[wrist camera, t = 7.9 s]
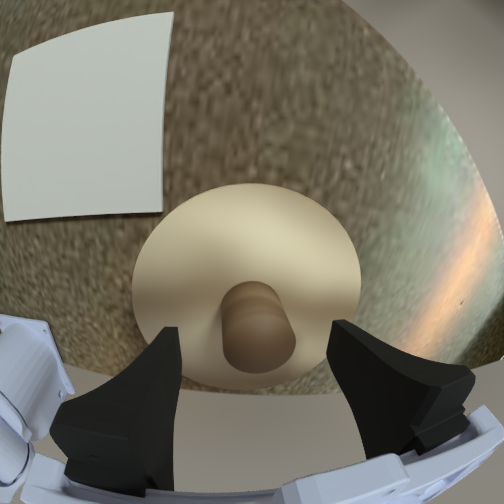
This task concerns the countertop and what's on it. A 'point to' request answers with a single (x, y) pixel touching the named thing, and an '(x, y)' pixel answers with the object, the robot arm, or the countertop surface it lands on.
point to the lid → (247, 284)
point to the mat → (87, 122)
